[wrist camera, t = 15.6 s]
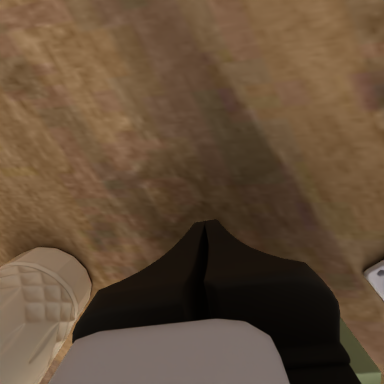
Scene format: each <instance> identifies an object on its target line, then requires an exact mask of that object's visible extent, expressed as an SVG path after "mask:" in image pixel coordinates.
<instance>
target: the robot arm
mask: <svg viewBox="0 0 384 384" xmlns="http://www.w3.org/2000/svg"><path fill="white" fill-rule="evenodd" d="M379 270H380V271H379ZM378 271H379V272H378ZM364 276H365V278H366V279H367V281H368V282H369V283H370V284H371V286H372V287H373V288H374V289H375V291H376V292H377V293H378V295H379V296H380V297H381V298H382V300H383V301H384V260H382V261H381V262H379V263H377V264H375V265H374V266H372V267H370V268H368V269H367V270H366V271H365V272H364ZM72 343H73V345H72V346H71V348H70V349H69V351H68V352H67V354H66V355H65V357H64V358H63V360H62V361H61V363H60V365H59V366H58V368H57V370H56V371H55V373H54V374H53V376H52V378H51V379H50V381H49V383H48V384H362V383H361V382H360V380H359V379H358V377H357V376H356V374H355V372H354V371H353V369H352V368H351V366H350V364H349V363H350V361H351V359H350V357H349V354H348V353H347V351H346V350H345V348H344V347H343V345H342V344H341V342H340V310H339V304H338V301H337V299H336V298H335V296H334V294H333V292H332V291H331V290H330V289H329V287H328V286H327V285H326V284H325V283H324V281H323V280H322V279H321V278H320V277H319V276H318V275H317V274H316V273H315V272H314V271H313V270H312V269H311V268H310V267H309V266H308V265H307V264H306V263H304V262H299V261H294V260H289V259H283V258H279V257H276V256H272V255H269V254H266V253H263V252H261V251H258V250H256V249H254V248H251V247H249V246H247V245H246V244H244V243H242V242H240V241H239V240H238V239H236V238H235V237H234V236H232V235H231V234H230V233H229V232H228V231H227V230H226V229H225V228H224V227H223V226H222V225H221V224H220V222H219V221H218V220H217V219H214V220H208V221H202V222H196V223H194V224H193V225H192V227H191V228H190V229H189V230H188V232H187V233H186V234H185V235H184V236H183V238H182V239H181V240H180V241H179V242H178V243H177V244H176V245H175V246H174V247H173V248H172V249H171V250H170V251H169V252H167V253H166V254H165V255H164V256H162V257H161V258H160V259H158V260H157V261H155V262H154V263H152V264H151V265H149V266H148V267H146V268H145V269H143V270H141V271H140V272H138V273H136V274H134V275H132V276H130V277H128V278H126V279H124V280H122V281H120V282H117V283H115V284H113V285H110V286H108V287H106V288H103V289H101V290H99V291H98V292H97V293H96V295H95V296H94V298H93V299H92V301H91V303H90V304H89V306H88V307H87V309H86V310H85V312H84V313H83V315H82V316H81V318H80V319H79V321H78V322H77V324H76V326H75V328H74V331H73V336H72Z"/></svg>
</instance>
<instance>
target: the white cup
mask: <svg viewBox="0 0 384 384" xmlns="http://www.w3.org/2000/svg"><path fill="white" fill-rule="evenodd" d="M91 287H92V284H91V281H90V278H89V276H88V273H87V270H86V269H85V268H84V267H83V266H82V265H81V264H80V263H79V262H78V260H77V259H76V258H75V257H73V256H71V255H69V254H67V253H65V252H63V251H61V250H59V249H57V248H46V247H37V248H34V249H32V250H29V251H27V252H24V253H22V254H20V255H18V256H17V257H15V258H13V259H12V260H10V261H9V262H7V263H5V264H4V265H2V266H0V384H40V382H41V380H42V379H43V377H44V376H45V374H46V372H47V371H48V369H49V367H50V366H51V364H52V362H53V361H54V358H55V356H56V355H57V353H58V352H59V350H60V348H61V347H62V345H63V344H64V342H65V340H66V339H67V337H68V335H69V333H70V331H71V328H72V326H73V324H74V323H75V321H76V320H77V318H78V317H79V315H80V313H81V312H82V310H83V309H84V307H85V306H86V304H87V302H88V301H89V299H90V293H91Z"/></svg>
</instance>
